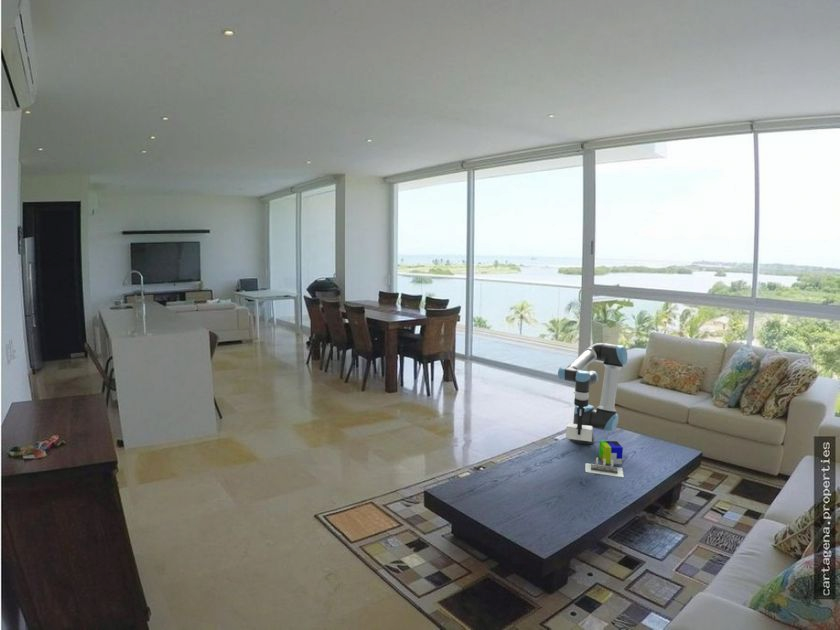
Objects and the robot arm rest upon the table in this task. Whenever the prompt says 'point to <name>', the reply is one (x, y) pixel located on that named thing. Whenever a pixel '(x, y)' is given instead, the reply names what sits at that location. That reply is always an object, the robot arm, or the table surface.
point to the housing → (572, 432)
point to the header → (604, 469)
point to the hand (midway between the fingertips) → (578, 437)
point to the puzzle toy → (611, 452)
